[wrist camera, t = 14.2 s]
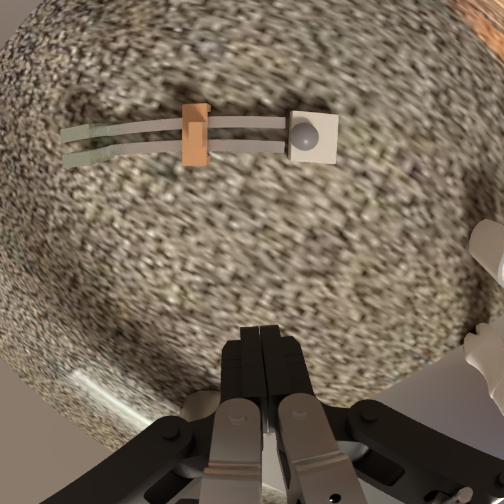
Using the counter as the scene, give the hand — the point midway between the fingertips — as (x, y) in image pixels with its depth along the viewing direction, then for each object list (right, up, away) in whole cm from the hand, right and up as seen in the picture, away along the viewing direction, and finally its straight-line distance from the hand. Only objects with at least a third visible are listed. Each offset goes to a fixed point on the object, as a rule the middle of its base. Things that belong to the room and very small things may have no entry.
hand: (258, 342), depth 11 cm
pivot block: (+4, +14, +13) cm, 20 cm away
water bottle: (+37, -10, +25) cm, 46 cm away
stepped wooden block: (-5, +14, +13) cm, 20 cm away
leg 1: (-7, +15, +13) cm, 21 cm away
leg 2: (-7, +13, +14) cm, 20 cm away
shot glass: (+30, +5, +18) cm, 35 cm away
